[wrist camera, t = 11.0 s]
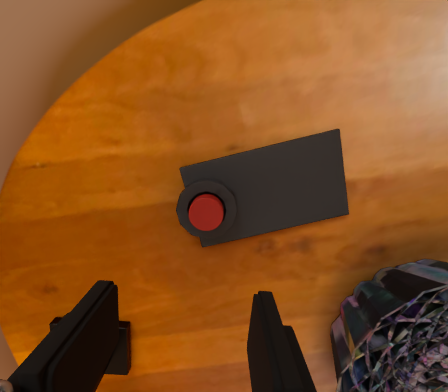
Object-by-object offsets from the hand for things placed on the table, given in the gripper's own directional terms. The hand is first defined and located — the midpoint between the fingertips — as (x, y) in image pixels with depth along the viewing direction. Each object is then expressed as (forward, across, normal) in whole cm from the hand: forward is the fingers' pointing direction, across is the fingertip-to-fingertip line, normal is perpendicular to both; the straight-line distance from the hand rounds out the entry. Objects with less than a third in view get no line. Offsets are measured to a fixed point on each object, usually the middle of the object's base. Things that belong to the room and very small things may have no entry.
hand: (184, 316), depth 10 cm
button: (+15, 0, 0) cm, 15 cm away
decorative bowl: (+18, -29, +15) cm, 37 cm away
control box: (+18, -7, -2) cm, 19 cm away
